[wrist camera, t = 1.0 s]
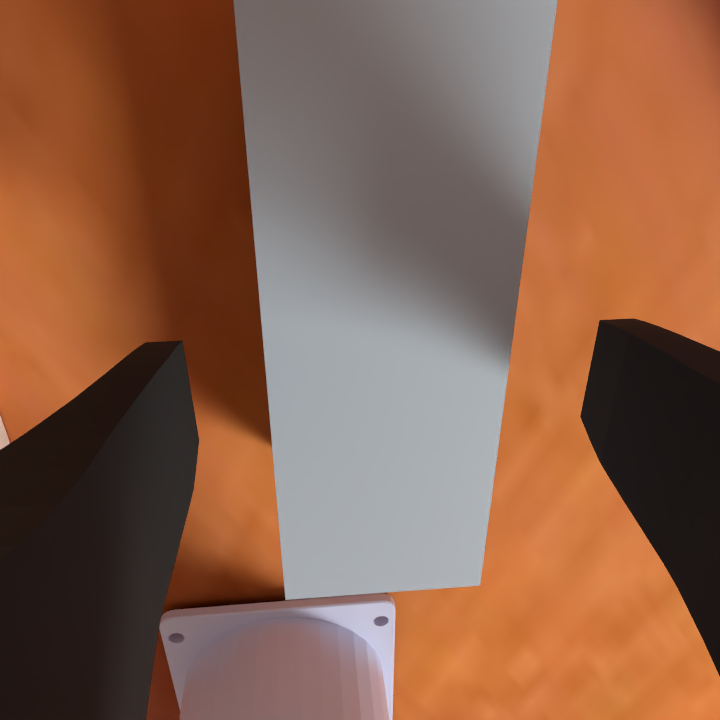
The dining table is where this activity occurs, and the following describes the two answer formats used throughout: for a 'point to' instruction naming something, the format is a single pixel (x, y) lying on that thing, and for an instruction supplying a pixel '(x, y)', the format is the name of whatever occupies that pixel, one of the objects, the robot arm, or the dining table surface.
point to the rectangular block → (388, 271)
